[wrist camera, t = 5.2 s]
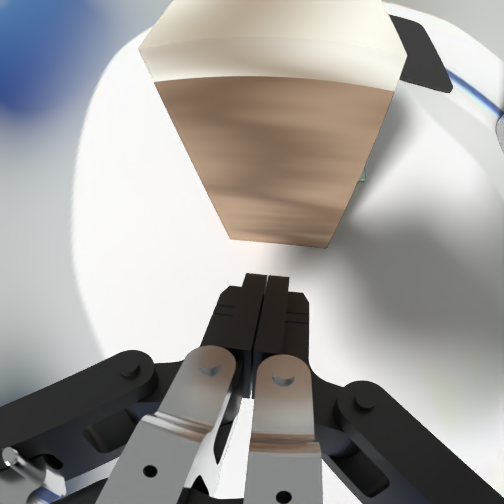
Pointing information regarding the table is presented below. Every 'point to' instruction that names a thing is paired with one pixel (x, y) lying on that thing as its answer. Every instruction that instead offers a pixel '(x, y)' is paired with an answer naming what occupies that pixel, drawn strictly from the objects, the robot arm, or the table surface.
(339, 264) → the table surface
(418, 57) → the phone
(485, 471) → the table surface
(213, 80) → the walnut block
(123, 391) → the robot arm
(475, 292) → the table surface
